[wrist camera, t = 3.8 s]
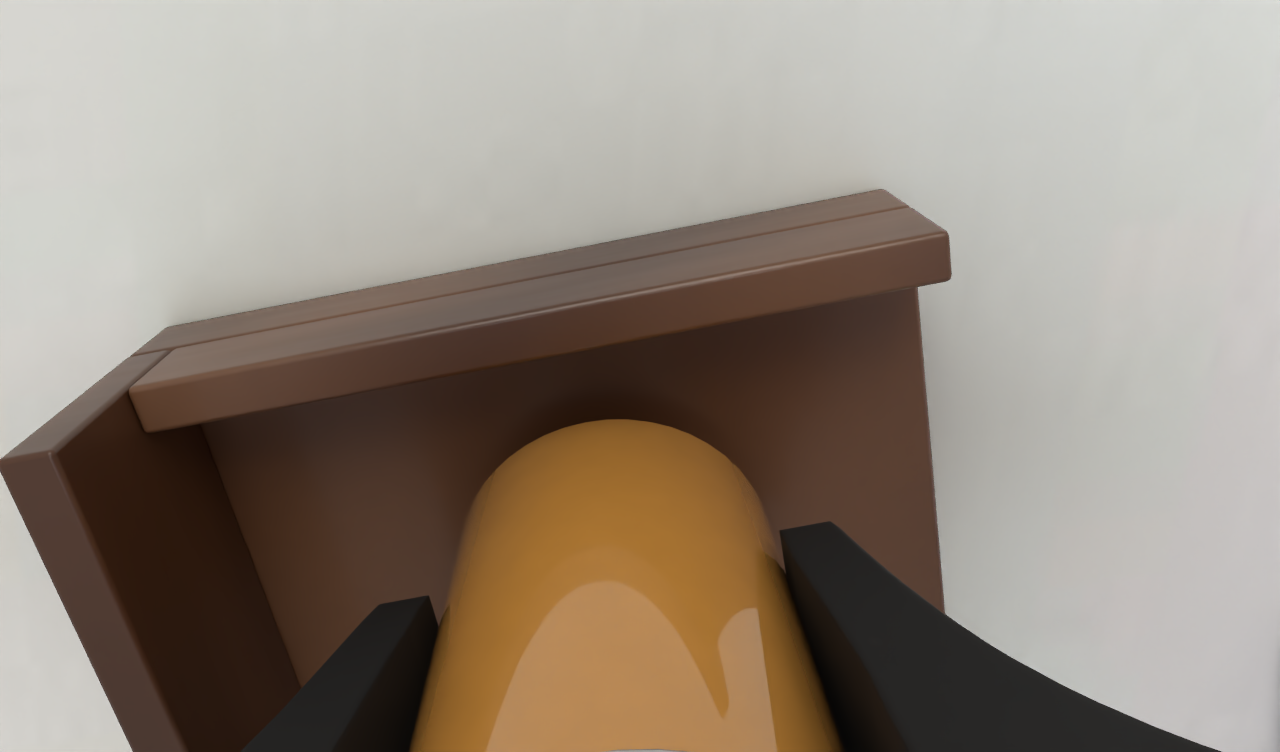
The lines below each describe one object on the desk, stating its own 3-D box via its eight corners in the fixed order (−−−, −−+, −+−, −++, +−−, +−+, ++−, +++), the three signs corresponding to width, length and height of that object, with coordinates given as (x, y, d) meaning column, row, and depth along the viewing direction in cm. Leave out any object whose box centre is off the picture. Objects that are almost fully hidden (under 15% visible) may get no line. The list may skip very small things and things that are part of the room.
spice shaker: (755, 380, 12) (932, 806, 6) (798, 663, 14) (975, 1242, 8) (413, 445, 13) (222, 931, 6) (495, 718, 14) (412, 1334, 8)
